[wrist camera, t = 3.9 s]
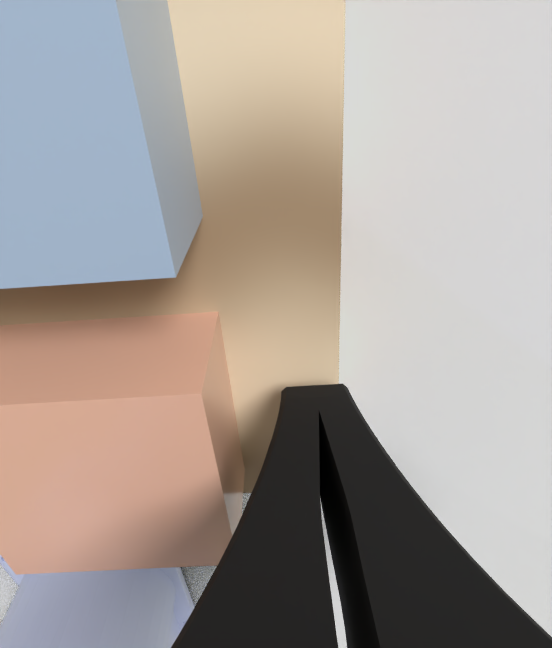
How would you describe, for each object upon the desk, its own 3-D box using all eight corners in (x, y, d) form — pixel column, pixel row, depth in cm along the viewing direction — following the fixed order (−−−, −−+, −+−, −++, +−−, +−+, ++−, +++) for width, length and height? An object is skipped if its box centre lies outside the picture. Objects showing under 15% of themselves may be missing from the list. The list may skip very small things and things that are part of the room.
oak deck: (323, 402, 15) (336, 488, 12) (-9, 420, 15) (-77, 509, 12) (318, -198, 7) (352, -382, 4) (-346, -135, 7) (-749, -263, 5)
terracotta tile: (244, 469, 11) (238, 564, 9) (63, 479, 11) (15, 574, 9) (218, 311, 9) (201, 393, 6) (-18, 326, 9) (-112, 411, 7)
